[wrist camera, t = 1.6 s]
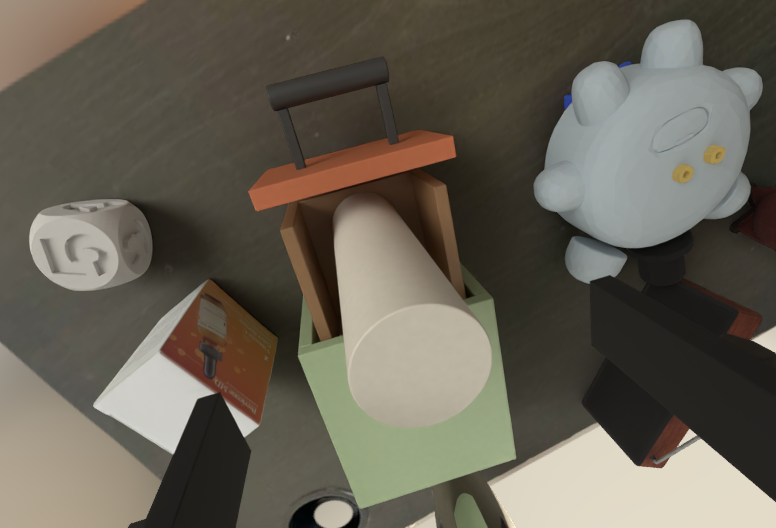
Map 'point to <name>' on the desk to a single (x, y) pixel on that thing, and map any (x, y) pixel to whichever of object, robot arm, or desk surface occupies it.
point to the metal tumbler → (468, 504)
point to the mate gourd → (759, 216)
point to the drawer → (354, 187)
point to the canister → (402, 321)
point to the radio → (637, 407)
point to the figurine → (648, 155)
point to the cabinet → (408, 445)
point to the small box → (193, 368)
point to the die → (91, 243)
